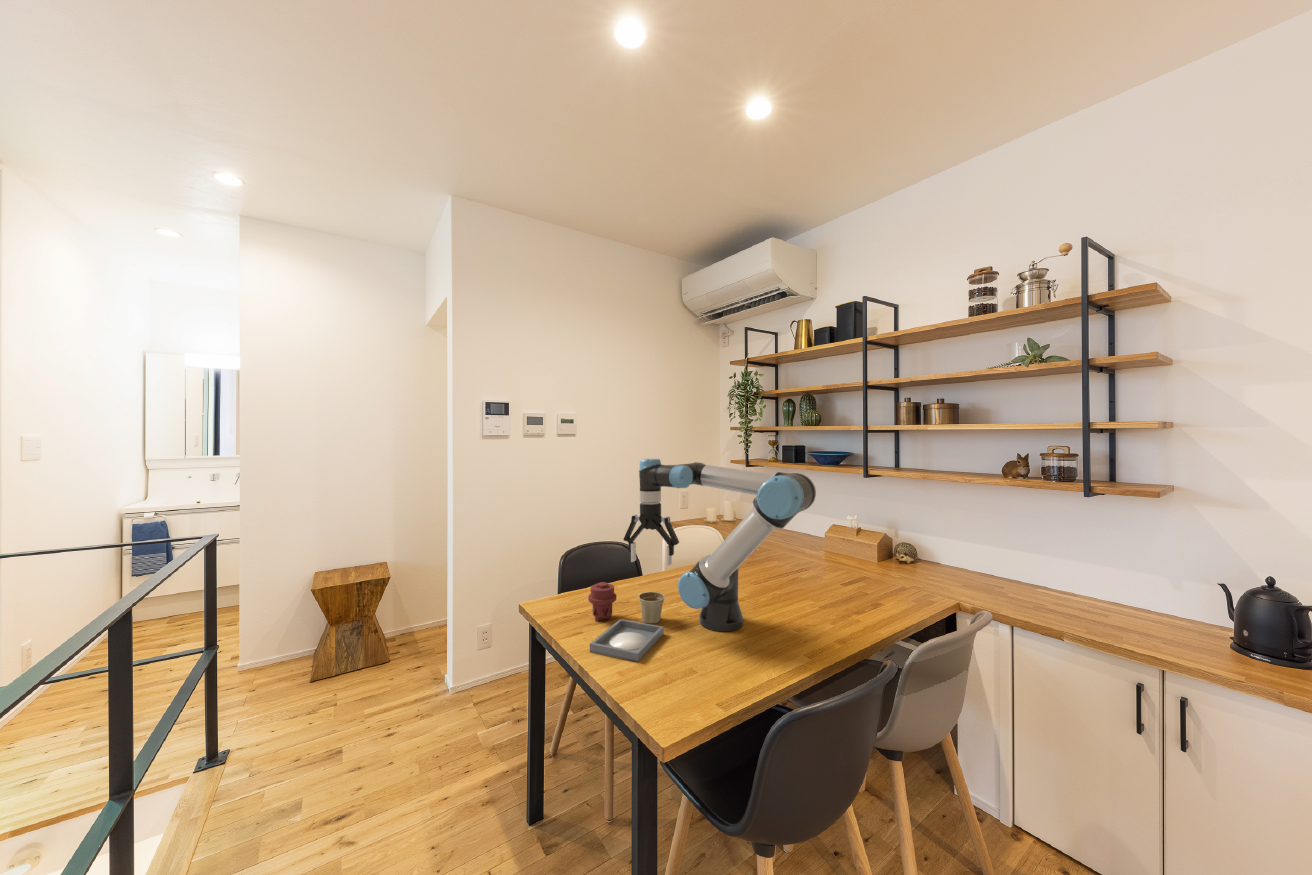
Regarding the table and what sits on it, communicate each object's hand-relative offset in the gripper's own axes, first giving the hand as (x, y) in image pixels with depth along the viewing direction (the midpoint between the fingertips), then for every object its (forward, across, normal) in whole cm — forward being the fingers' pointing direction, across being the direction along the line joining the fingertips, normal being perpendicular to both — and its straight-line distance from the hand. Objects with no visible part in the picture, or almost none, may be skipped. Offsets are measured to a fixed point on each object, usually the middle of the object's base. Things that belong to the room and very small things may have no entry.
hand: (651, 562), depth 163 cm
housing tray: (+20, 0, +18) cm, 27 cm away
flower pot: (+21, 0, 0) cm, 21 cm away
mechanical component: (+20, +17, +4) cm, 27 cm away
